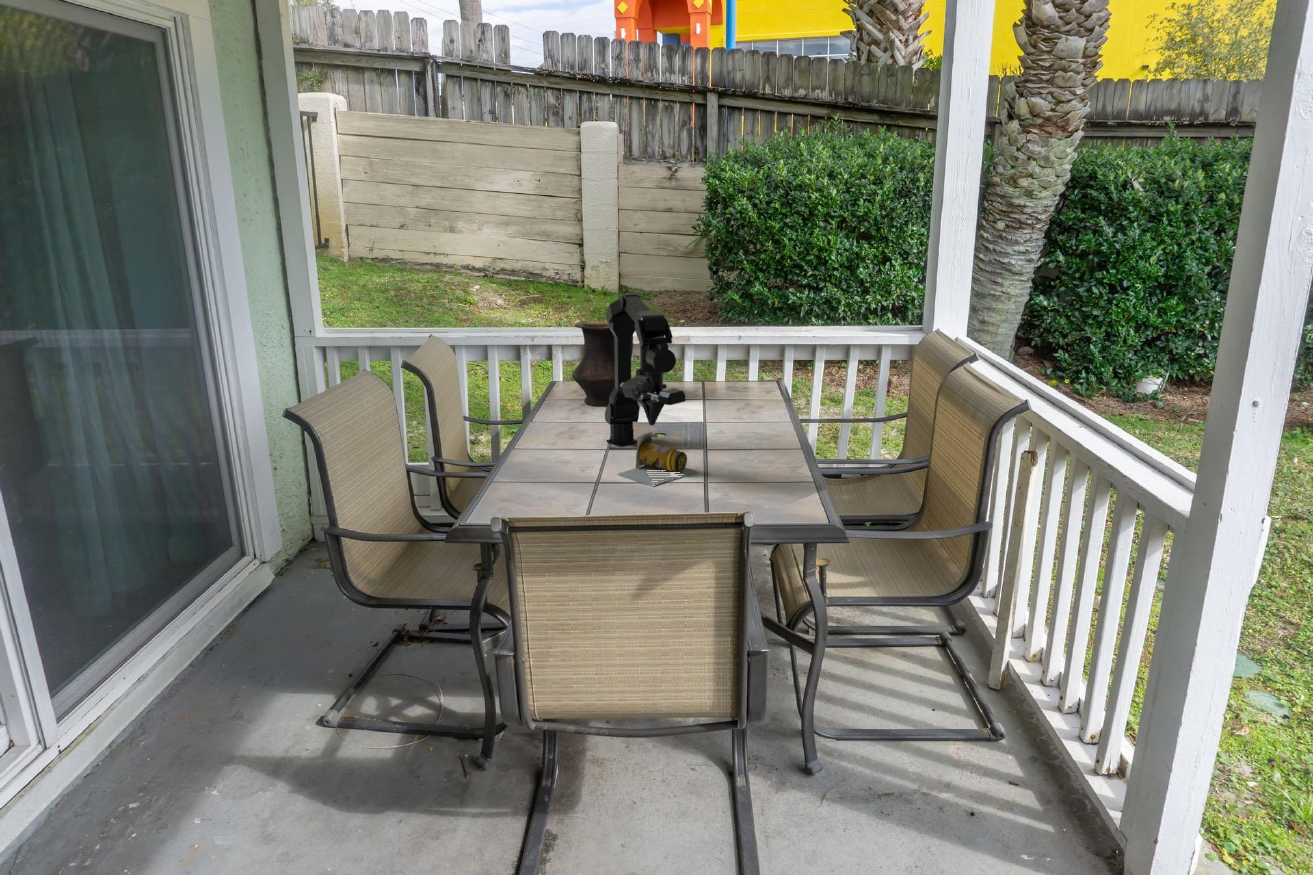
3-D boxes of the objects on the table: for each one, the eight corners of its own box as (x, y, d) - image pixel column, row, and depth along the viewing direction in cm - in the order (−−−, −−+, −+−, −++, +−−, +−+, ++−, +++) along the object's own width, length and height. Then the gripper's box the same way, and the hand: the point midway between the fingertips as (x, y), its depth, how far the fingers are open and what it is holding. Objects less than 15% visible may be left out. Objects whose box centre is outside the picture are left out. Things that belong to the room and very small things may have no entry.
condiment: (635, 468, 232) (675, 477, 227) (637, 437, 230) (677, 445, 224) (649, 462, 238) (688, 471, 233) (651, 431, 236) (691, 440, 230)
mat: (617, 474, 229) (617, 473, 229) (661, 461, 240) (661, 460, 240) (652, 486, 220) (652, 485, 220) (697, 472, 231) (697, 471, 231)
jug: (563, 407, 294) (560, 317, 286) (584, 394, 311) (581, 308, 303) (624, 412, 288) (622, 320, 280) (641, 399, 305) (641, 311, 297)
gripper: (602, 364, 224) (604, 423, 228) (654, 375, 211) (654, 438, 216) (635, 357, 232) (635, 416, 236) (687, 368, 219) (686, 429, 223)
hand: (651, 424), depth 227 cm, fingers closed
